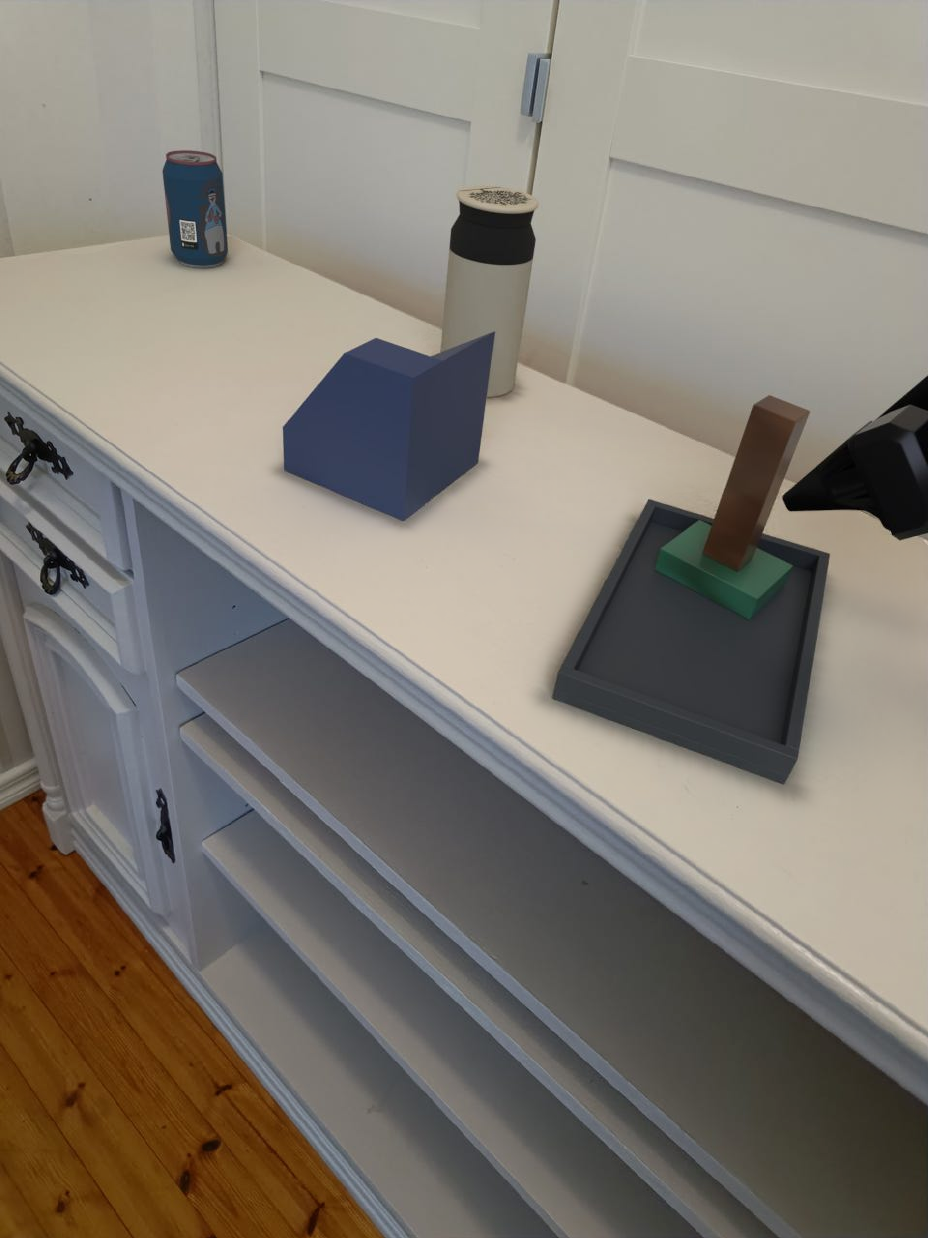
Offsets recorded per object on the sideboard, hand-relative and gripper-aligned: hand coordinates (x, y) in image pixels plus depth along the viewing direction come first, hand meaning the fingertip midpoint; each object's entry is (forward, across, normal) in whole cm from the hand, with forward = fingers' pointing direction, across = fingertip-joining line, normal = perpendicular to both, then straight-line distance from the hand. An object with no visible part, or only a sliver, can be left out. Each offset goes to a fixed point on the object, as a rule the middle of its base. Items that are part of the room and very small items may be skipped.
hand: (814, 479), depth 56 cm
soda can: (+68, +11, +51) cm, 85 cm away
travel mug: (+35, +12, +19) cm, 42 cm away
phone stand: (+31, -7, +15) cm, 35 cm away
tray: (+9, -6, -7) cm, 13 cm away
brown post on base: (+10, 0, -5) cm, 11 cm away
